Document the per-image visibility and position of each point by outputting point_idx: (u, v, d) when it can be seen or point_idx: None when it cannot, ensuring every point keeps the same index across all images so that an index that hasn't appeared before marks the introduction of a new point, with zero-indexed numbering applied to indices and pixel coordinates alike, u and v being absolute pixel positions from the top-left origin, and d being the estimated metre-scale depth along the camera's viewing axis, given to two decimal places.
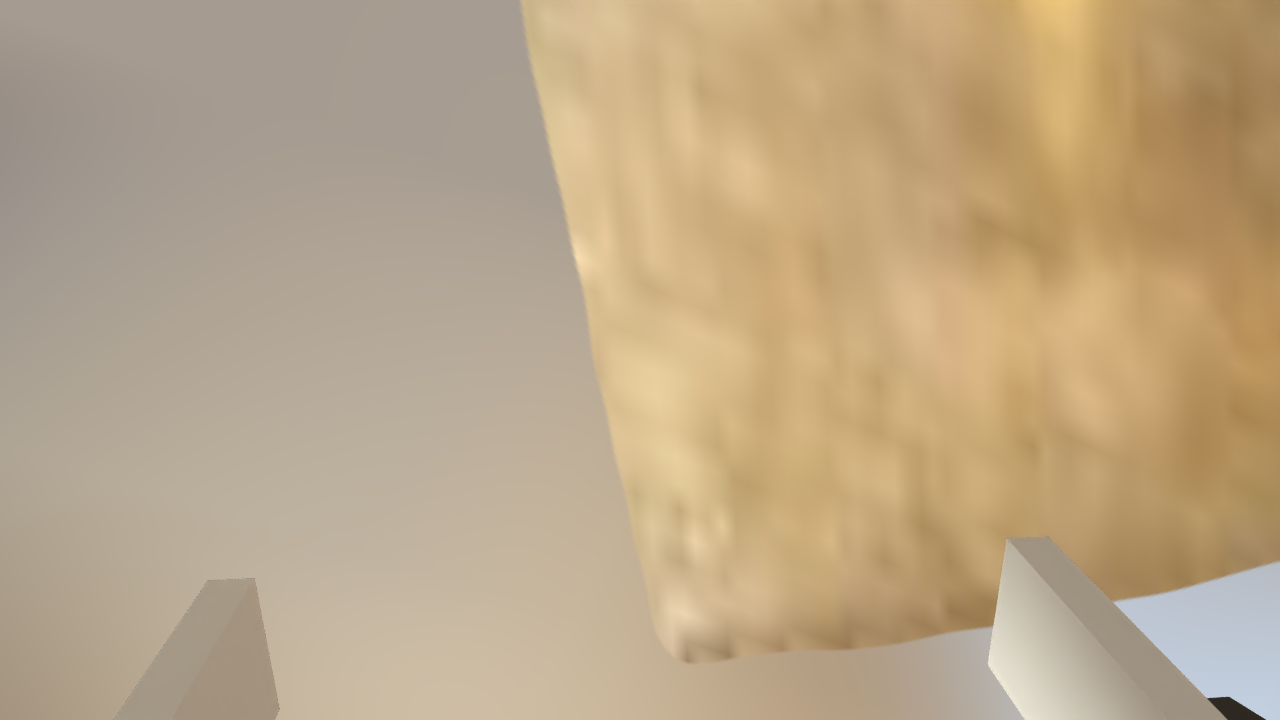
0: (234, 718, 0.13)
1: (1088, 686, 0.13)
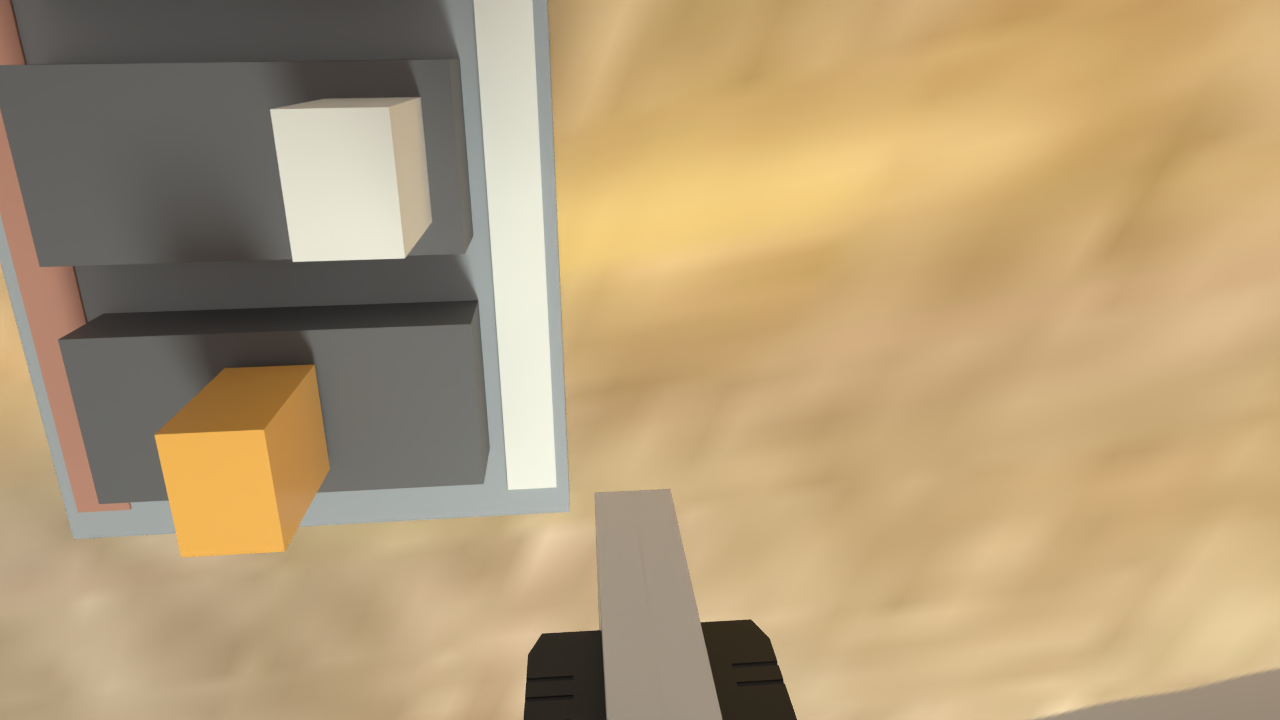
0: None
1: None
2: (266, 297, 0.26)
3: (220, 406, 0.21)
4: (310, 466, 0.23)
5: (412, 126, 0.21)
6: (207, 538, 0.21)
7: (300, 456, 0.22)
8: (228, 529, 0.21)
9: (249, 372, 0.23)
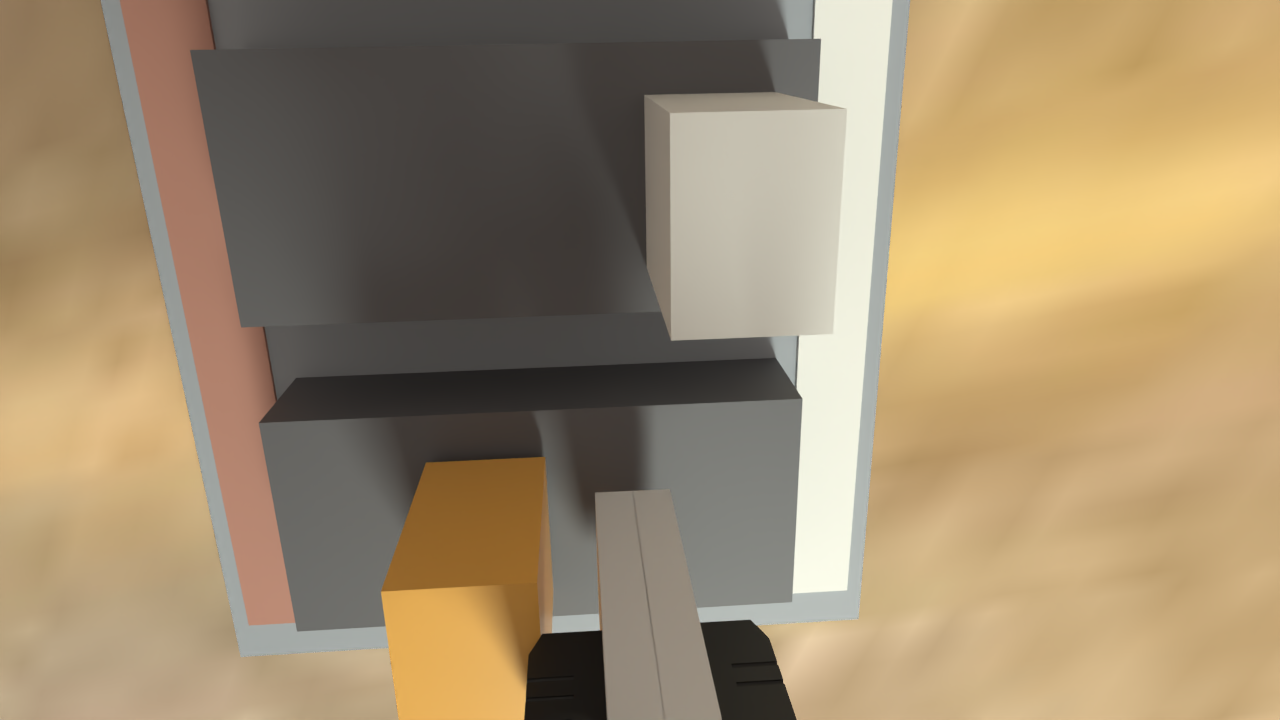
0: None
1: None
2: (506, 356, 0.20)
3: (452, 535, 0.15)
4: (549, 600, 0.17)
5: None
6: None
7: (547, 593, 0.16)
8: (472, 717, 0.14)
9: (462, 471, 0.17)
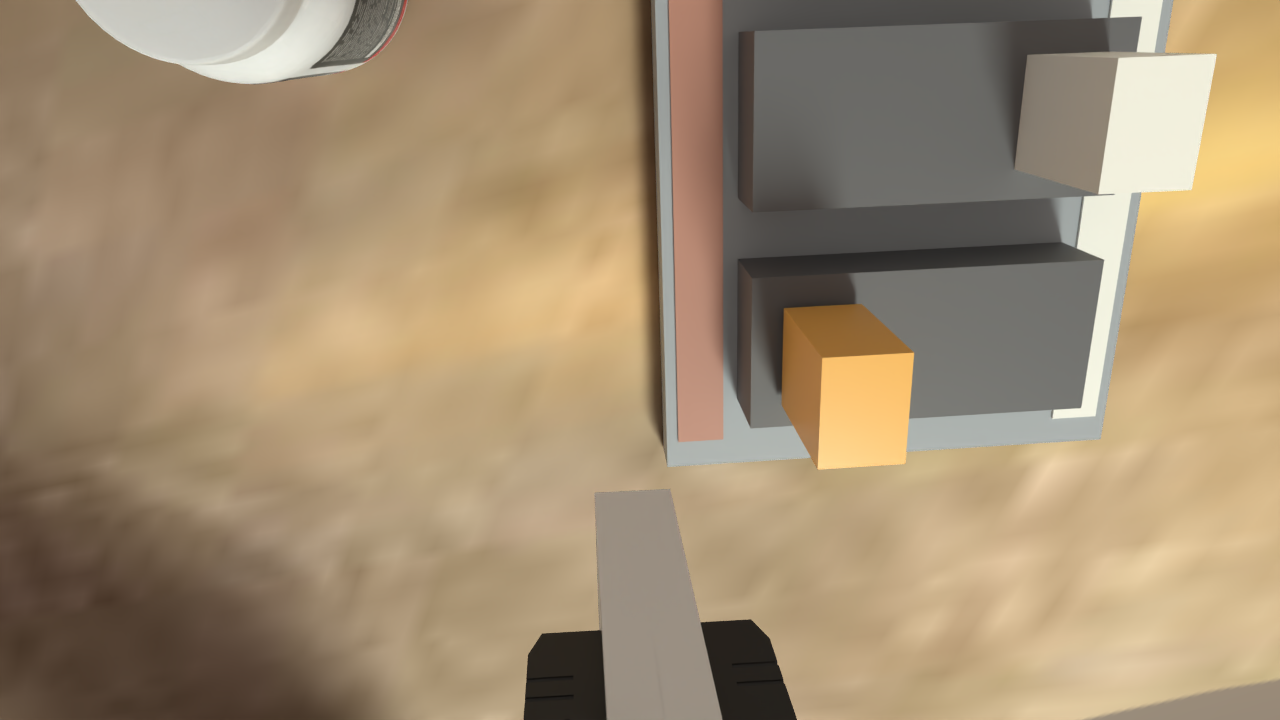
0: None
1: None
2: (880, 242, 0.29)
3: (839, 336, 0.24)
4: None
5: None
6: (843, 452, 0.23)
7: None
8: (863, 444, 0.23)
9: (813, 311, 0.26)
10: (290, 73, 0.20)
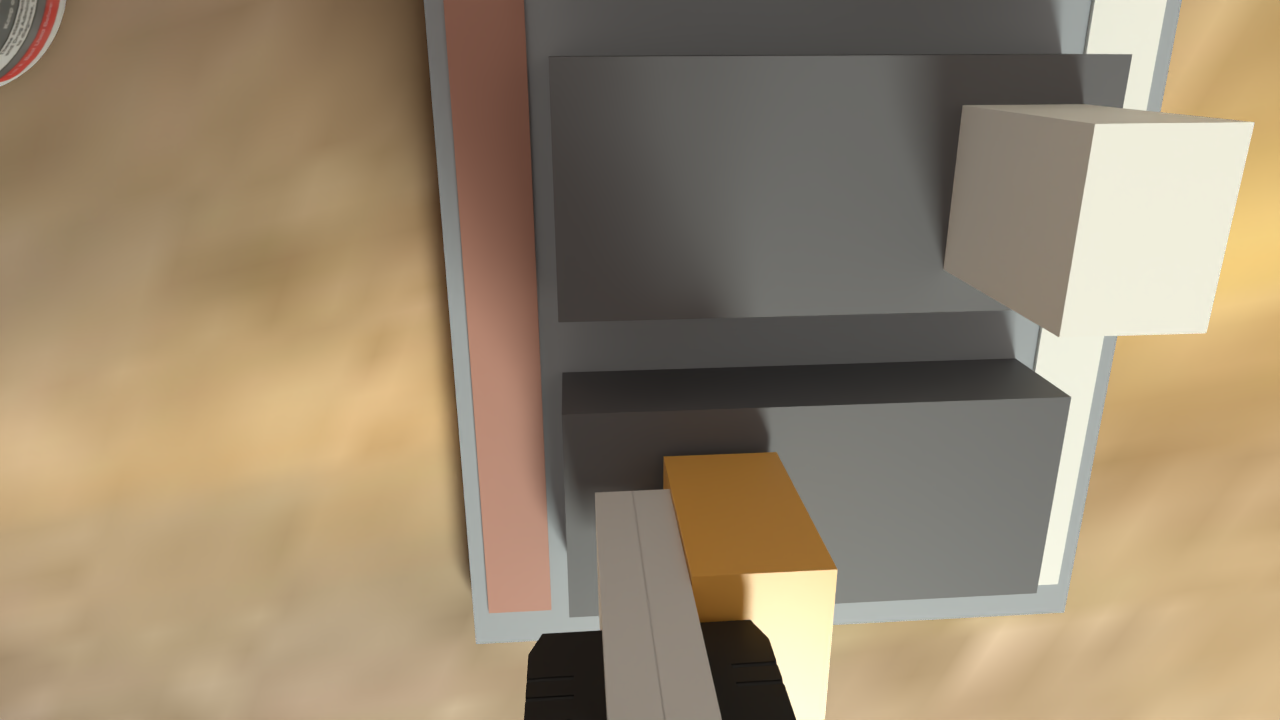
0: None
1: None
2: (763, 353, 0.20)
3: (729, 524, 0.16)
4: None
5: None
6: None
7: None
8: None
9: (704, 465, 0.18)
10: None
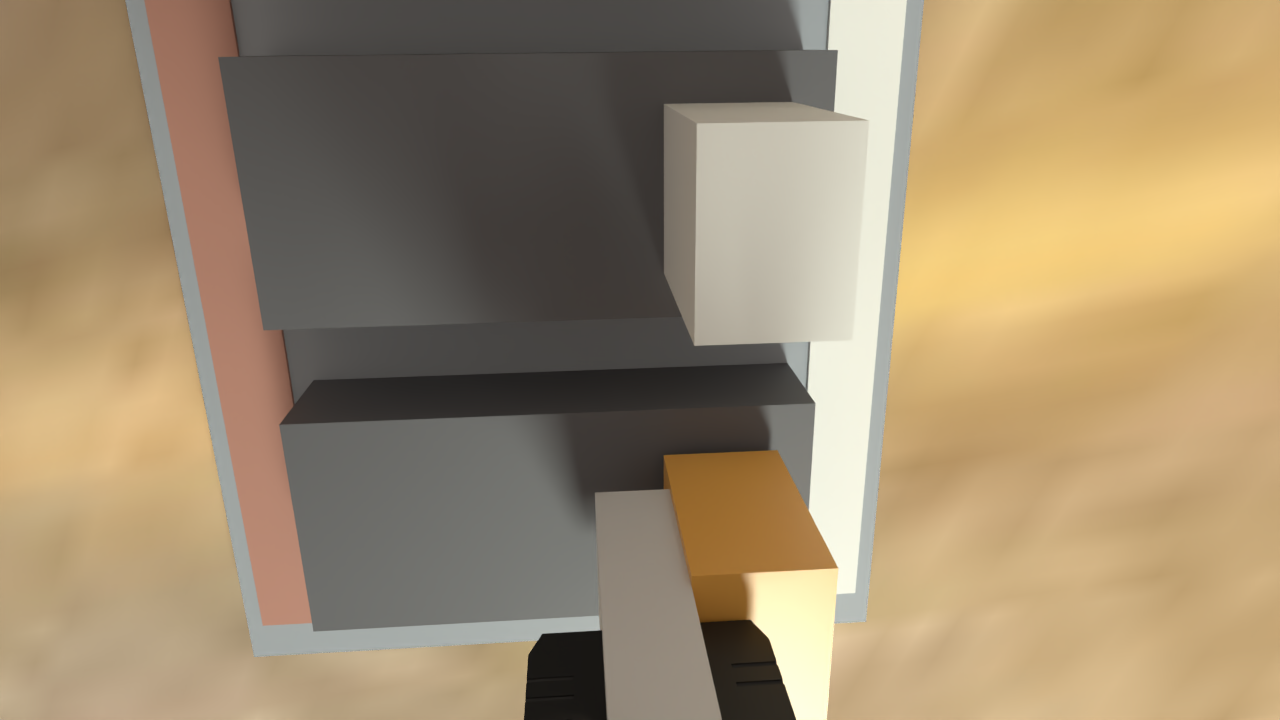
0: None
1: None
2: (521, 359, 0.20)
3: (729, 522, 0.15)
4: None
5: None
6: None
7: None
8: None
9: (704, 463, 0.18)
10: None
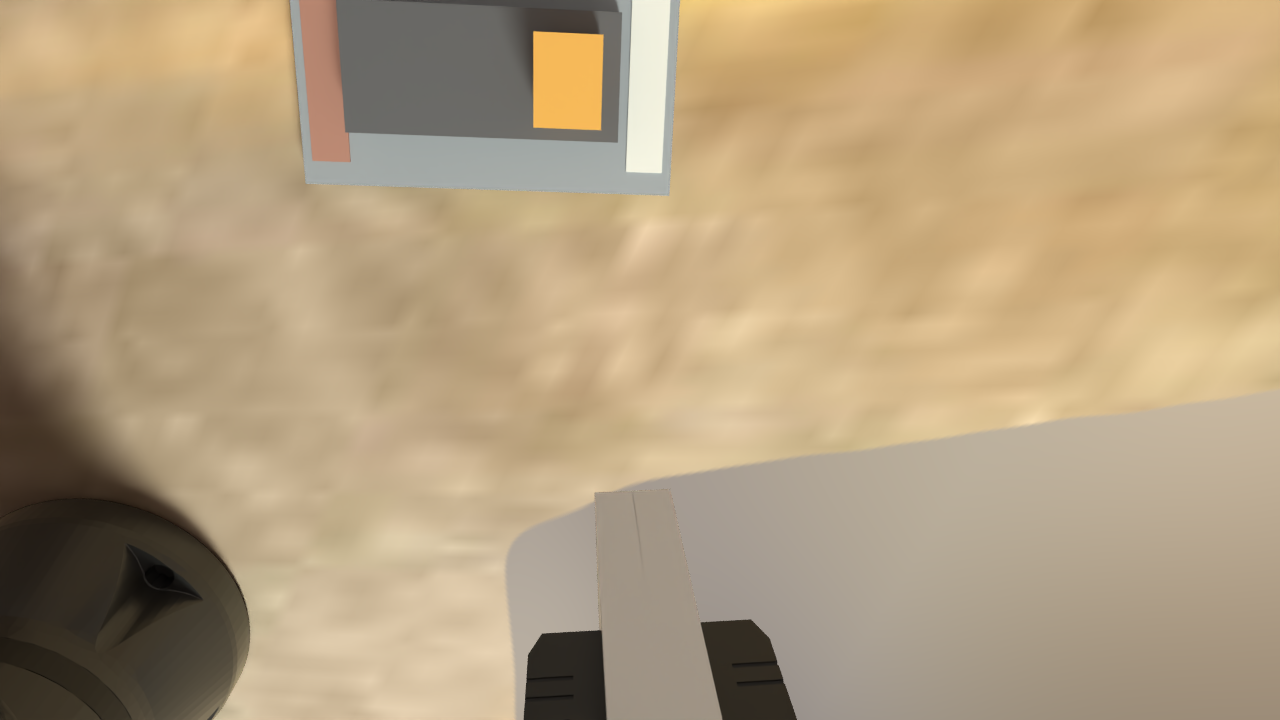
0: None
1: None
2: None
3: None
4: None
5: None
6: (552, 114, 0.31)
7: None
8: (567, 109, 0.31)
9: None
10: None
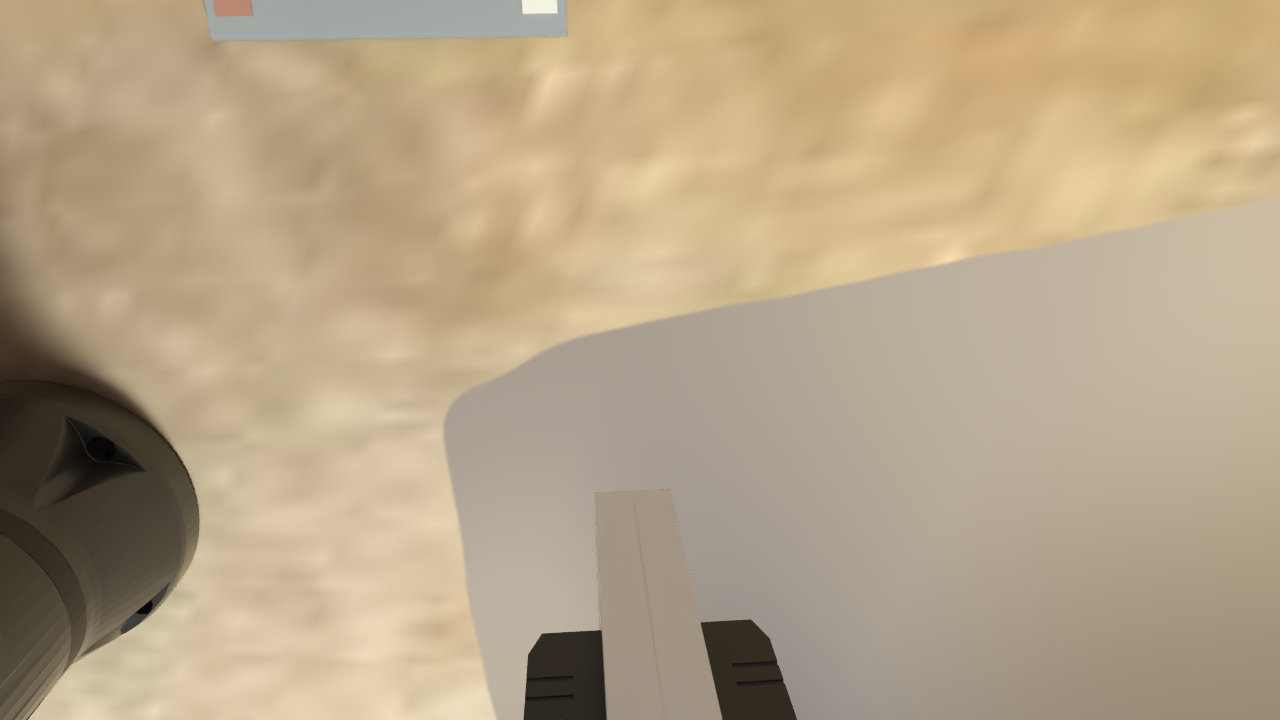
0: None
1: None
2: None
3: None
4: None
5: None
6: None
7: None
8: None
9: None
10: None
